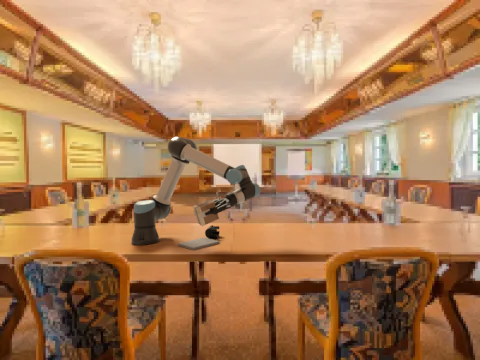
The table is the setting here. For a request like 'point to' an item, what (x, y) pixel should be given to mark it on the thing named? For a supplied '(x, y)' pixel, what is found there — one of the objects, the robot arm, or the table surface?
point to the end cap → (212, 232)
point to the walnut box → (204, 207)
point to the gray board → (198, 243)
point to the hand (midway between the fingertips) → (196, 214)
